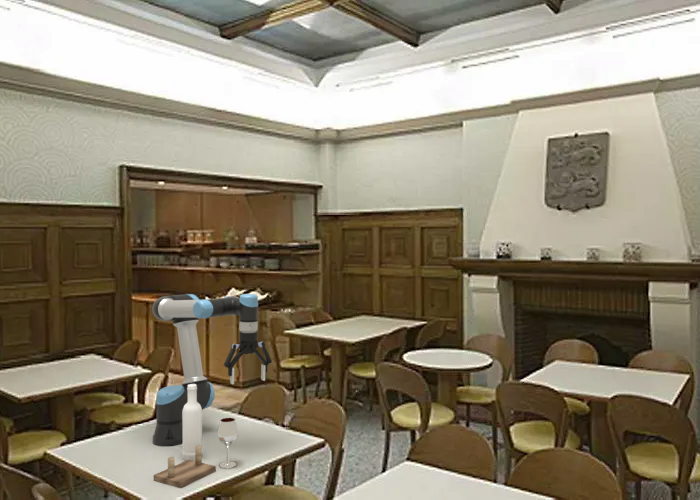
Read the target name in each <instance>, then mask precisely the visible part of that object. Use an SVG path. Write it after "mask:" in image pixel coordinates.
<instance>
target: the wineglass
mask: <svg viewBox="0 0 700 500" xmlns="http://www.w3.org/2000/svg"><path fill="white" fill-rule="evenodd" d="M216 434H217V435H216V436H217V439H218V440H219V442H220V443H222V444H223V445H224V446H225V447H226V461H225V462H222V463H220V464H219V467H220V468H222V469H232V468H234V467H236V465H237V463H236V462H234V461H230V447H231V445H233V443H234V442H235V441H236V440H237V439H238V437H239V428H238V425H237V422H236V419H235V418H233V417H225V418H221V419H219V424H218V428H217V433H216Z"/></svg>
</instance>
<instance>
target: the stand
mask: <svg viewBox="0 0 700 500" xmlns="http://www.w3.org/2000/svg"><path fill="white" fill-rule="evenodd" d="M202 458H203V445H202V446H200V445H198V446H195V461H193V460H187V461H185V460H184V461H183V462H180V463H178V464H176V463H175V461H176V458H175V456H168V458H167V469H164V470H162V471H159V472H157V473H155V474H153V481H154V482H157V483H162V484H164V485H168V486H172V487H175V488H180V489H182V488H183V489H184V488H185V487H186V486H189V485H190V484H192V483H194V482H197V481H199V480H201V479H203V478H205V477H208V476H209V475H210V474H213V473H215V472H216V471H217V468H216V467H217V466H216V465H213V464H209V463H205V462H203V461H202V460H203V459H202Z"/></svg>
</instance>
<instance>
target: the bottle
mask: <svg viewBox="0 0 700 500" xmlns="http://www.w3.org/2000/svg"><path fill="white" fill-rule="evenodd" d="M187 390H188V402H187V403H186V404H185V405H184V407H183V411H182V420H183V443H182V451H181V452H182V453H181V454H182V459H183V461H184V462H185V461H187V460H193V461H195V446H198V445H200V446H202V447H203V410H202V408H201V405H200V404H199V403H198V402H197V385H196V384H189V385H188V387H187Z"/></svg>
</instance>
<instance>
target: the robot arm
mask: <svg viewBox="0 0 700 500" xmlns="http://www.w3.org/2000/svg"><path fill="white" fill-rule="evenodd" d="M151 310H152V314H153V316H154V317H155V319H157V320H160V321H162V322H170V321H172V325H173V326H174V327H176V328H177V329H176V330H177V335H178V336H177V337H178V342H179V343H178V344H179V350H180V357H181V358H180V359H181V365H182V371H183V379H184V380H183V381H182V382H181V384H174V385H169V386H165V387H162V388H160V389H158V391H157V393H156V399H155V403H156V425H155V429H154V431H153V435H152V444H153V445H155V446H161V447H168V446H169V447H171V446H176V445H180V444H183V420H182V411H183V407H184V405H185V404H186V403H187V402H188V390H187V387H188V385H189V384H196V385H197V402H198V403H199V404H200V405H201V408H202V411H203V410H205V409H208V408H209V407H211V406H212V405H213V403H214V400H215V396H216V395H215V393H216V392H215V388H214V386H213V384H212V383H211V382H209V381H208V378H207V377H206V376H204V372H203V365H202V357H201V350H200V344H199V337H198V331H197V330H198V329H197V324H198V323H199V319H210V318H217V317H226V316H238V317H239V320H238V321H239V324H238V325H239V329H238V330H239V331H240V332H239V333H238V335H239V336H238V340H239V341H238V344H235V343H231V347H230V348H231V349H230V350H229V353H228V355H227V357H226V359H225V361H224V363H223V367H225V368H226V369H227V370H228V371H227V375H228V376H229V383H230V384H231V385H235V368H234V366H235V365H236V363H238V361H239V360H240V358H241V357H242V356H244V355H248V354H255V356H256V357H257V358H258V359H259V360H260V362H262V364H261V367H260V368H261V369H260V370H261V371H260V374H261V375H260V380H261V381H264V382H265V381H266V373H268V365H270V364H271V363H272V362H273V361H272V359H271V357H270V354H269V353H268V350H267V347H266V344H265V342H264V341H262V340H261V341H260V342H258V334H259V333H258V329H259V328H258V327H259V326H258V325H259V322H258V321H259V320H258V319H259V318H258V317H259V313H258V312H259V296H258V295H257V294H255V293H244V294H243V293H242V294H240V296H239V297H236V296H232V295H231V296H228V295H227V296H224V297H222V298H221V297H220V298H209V299H204V298H203V299H199V297H198V296H197V295H196V294H193V293H190V294H189V293H184V294H174V295H164V296H161V297H159V298H157V299H156V300H155V301H154V302H153V304H152V309H151ZM258 347H259V348H260V349H261V351H262V354H263V355H261V353H260V352H259V350H258V349H257V348H258ZM238 348H239V350H238V351H237V353H236V350H237V349H238ZM263 356H264V357H265V358H264V357H263Z"/></svg>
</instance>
